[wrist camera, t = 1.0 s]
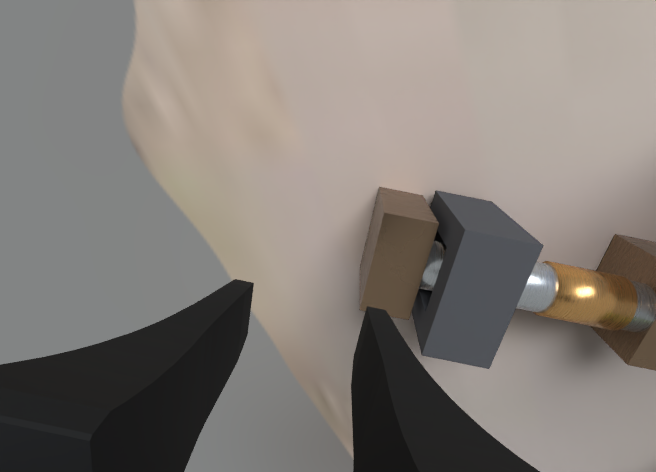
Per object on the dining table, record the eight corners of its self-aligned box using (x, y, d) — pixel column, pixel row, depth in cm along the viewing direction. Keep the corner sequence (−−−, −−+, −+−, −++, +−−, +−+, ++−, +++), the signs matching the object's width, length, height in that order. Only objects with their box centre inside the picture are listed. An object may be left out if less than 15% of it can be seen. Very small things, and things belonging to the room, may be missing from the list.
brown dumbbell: (659, 243, 20) (742, 285, 16) (615, 319, 22) (679, 376, 18) (379, 186, 20) (384, 213, 16) (359, 267, 22) (359, 311, 18)
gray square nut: (491, 201, 20) (543, 245, 14) (456, 298, 22) (488, 368, 16) (435, 190, 20) (465, 229, 14) (406, 287, 22) (421, 355, 16)
